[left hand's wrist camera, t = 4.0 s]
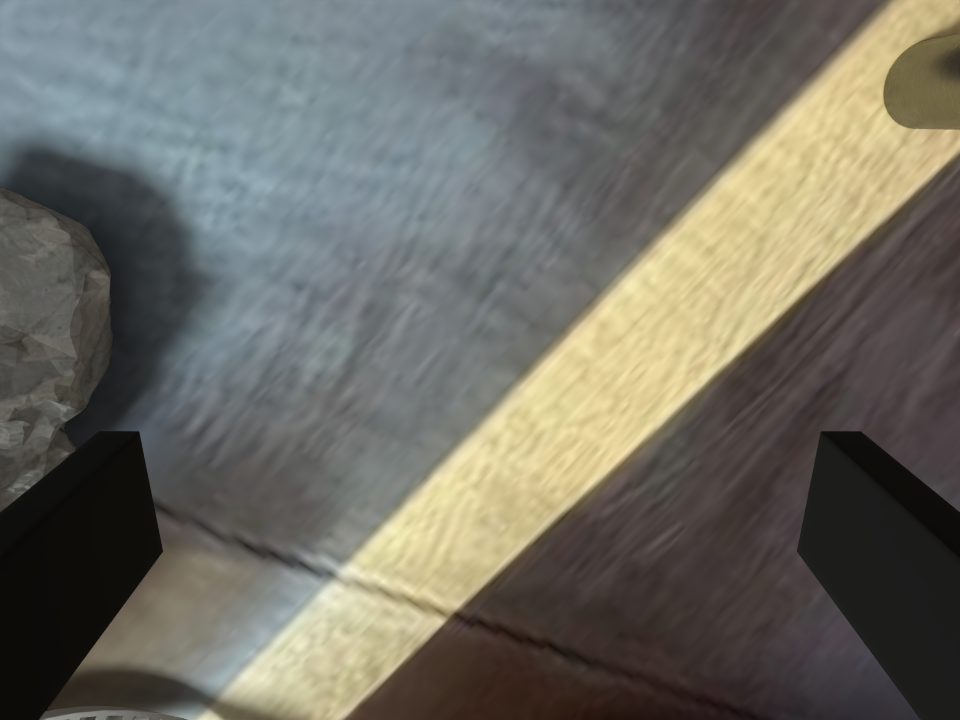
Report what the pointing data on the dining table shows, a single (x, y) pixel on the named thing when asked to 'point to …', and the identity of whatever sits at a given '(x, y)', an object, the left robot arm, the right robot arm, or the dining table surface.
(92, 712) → the decorative object
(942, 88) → the bottle
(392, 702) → the dining table surface
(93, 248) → the decorative stone
